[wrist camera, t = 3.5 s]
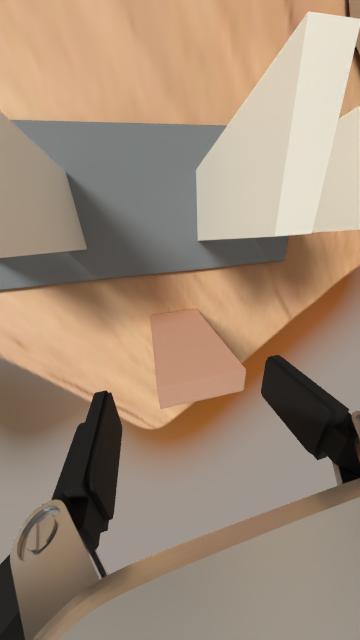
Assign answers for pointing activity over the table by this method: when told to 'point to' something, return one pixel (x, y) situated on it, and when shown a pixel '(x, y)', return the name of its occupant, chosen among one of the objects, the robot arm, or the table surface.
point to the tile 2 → (34, 199)
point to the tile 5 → (342, 179)
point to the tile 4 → (279, 139)
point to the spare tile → (192, 359)
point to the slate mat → (131, 204)
